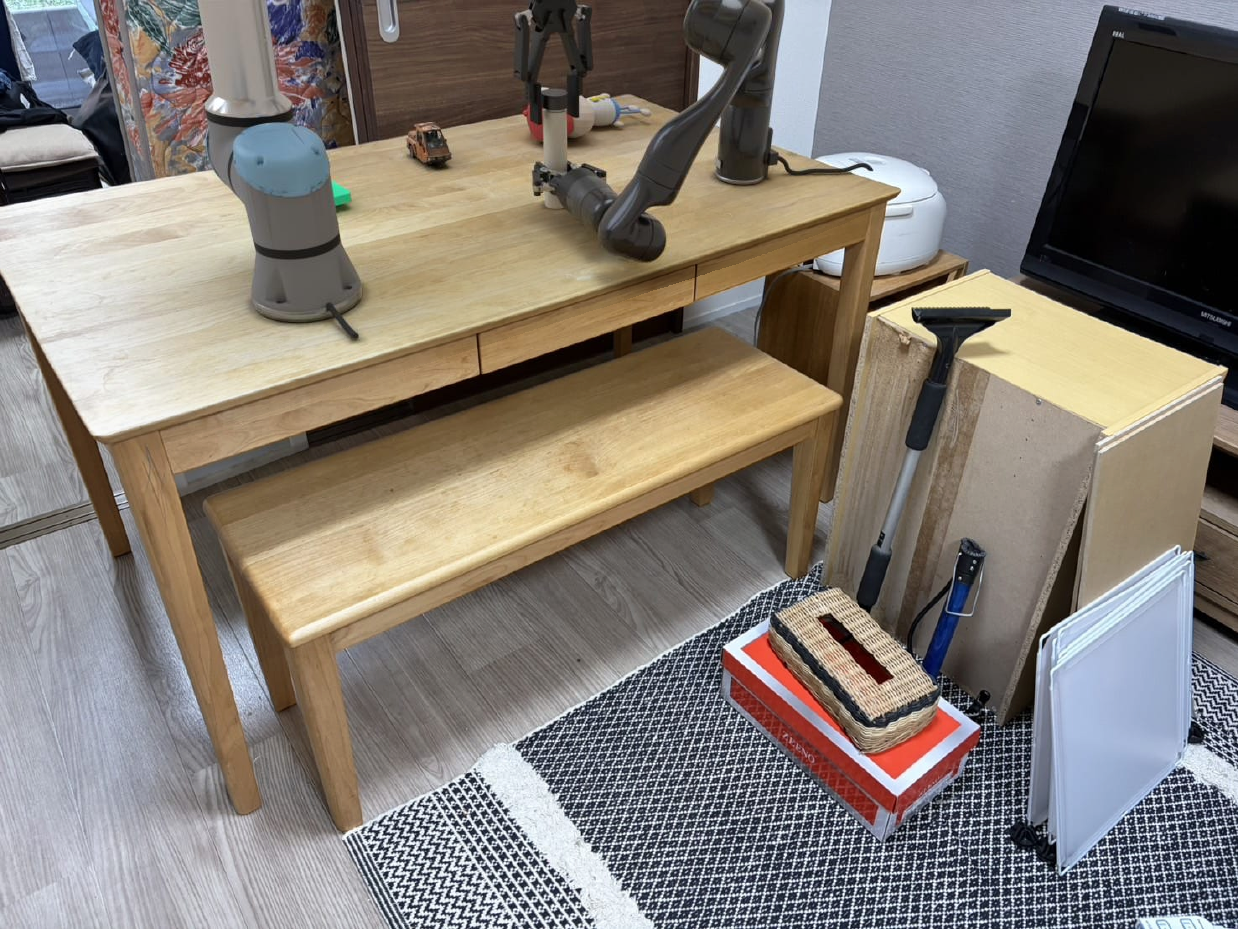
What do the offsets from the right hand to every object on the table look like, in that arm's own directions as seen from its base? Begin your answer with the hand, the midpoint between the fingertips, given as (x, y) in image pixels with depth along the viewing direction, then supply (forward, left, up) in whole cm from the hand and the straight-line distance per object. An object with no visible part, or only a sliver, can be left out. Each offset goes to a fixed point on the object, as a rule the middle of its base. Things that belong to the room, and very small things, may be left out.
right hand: (549, 165), depth 165 cm
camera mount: (+39, -13, -6) cm, 42 cm away
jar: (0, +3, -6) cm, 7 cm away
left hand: (0, +3, +9) cm, 9 cm away
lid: (0, +3, +13) cm, 13 cm away
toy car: (+14, -28, -6) cm, 32 cm away
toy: (-22, -34, -6) cm, 41 cm away
